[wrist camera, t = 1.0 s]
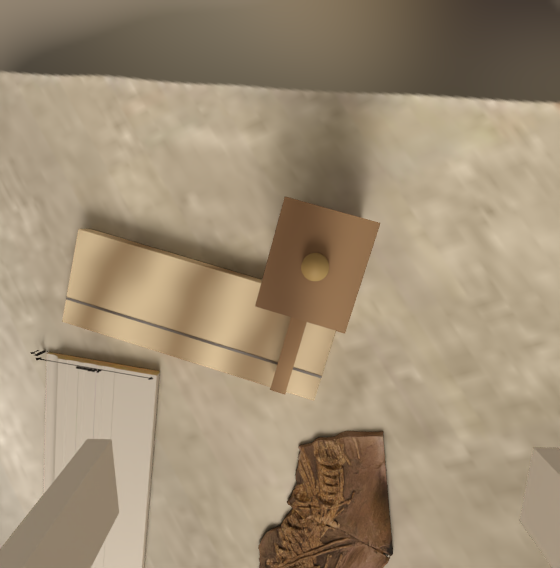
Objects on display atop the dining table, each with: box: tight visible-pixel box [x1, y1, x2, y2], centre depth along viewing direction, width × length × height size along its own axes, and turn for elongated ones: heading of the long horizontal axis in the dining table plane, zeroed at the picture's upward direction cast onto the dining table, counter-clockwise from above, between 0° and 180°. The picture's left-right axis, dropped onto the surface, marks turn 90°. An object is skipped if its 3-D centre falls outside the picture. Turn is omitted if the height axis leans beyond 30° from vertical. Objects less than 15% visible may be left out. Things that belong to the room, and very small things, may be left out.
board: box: [62, 229, 336, 401], centre depth 33 cm, size 22×8×2 cm, turn 74°
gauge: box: [255, 197, 380, 394], centre depth 26 cm, size 5×14×12 cm, turn 164°
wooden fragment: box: [258, 431, 393, 568], centre depth 35 cm, size 26×11×1 cm, turn 160°
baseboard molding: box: [31, 350, 160, 568], centre depth 37 cm, size 31×3×12 cm
